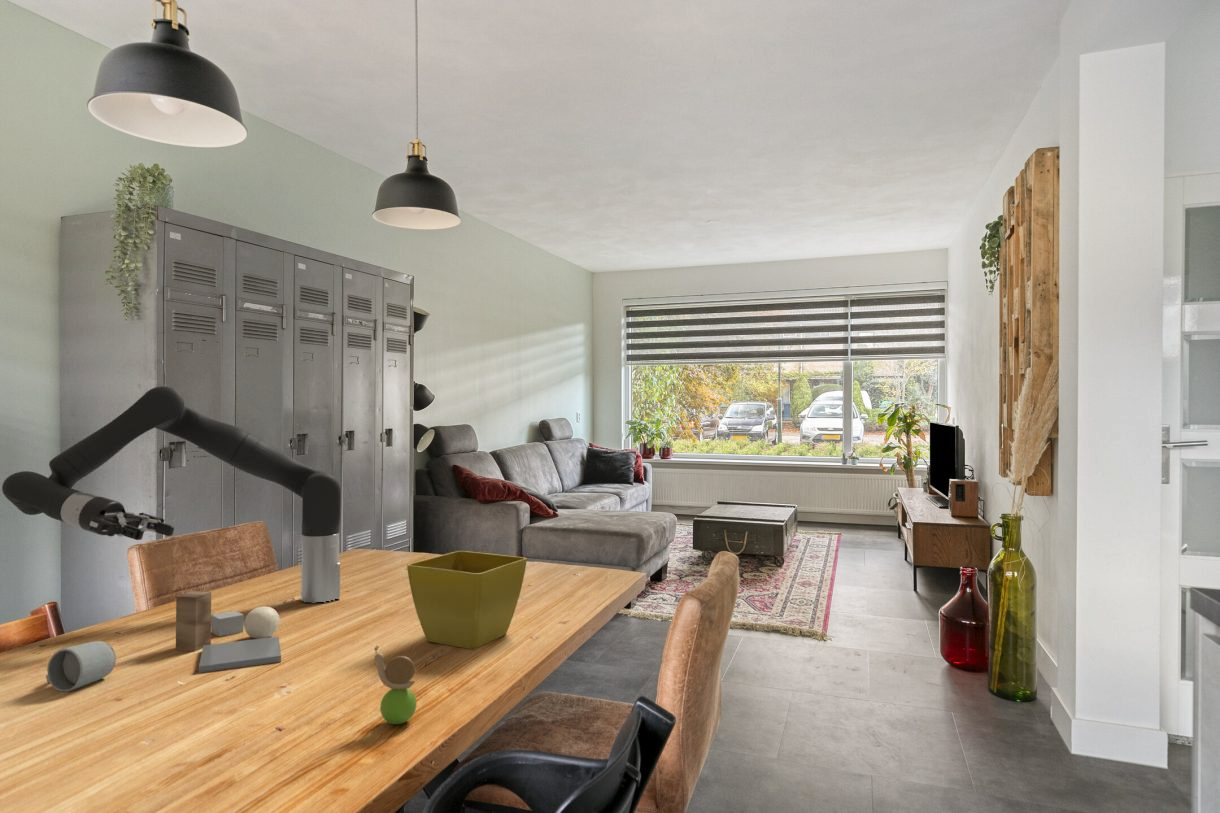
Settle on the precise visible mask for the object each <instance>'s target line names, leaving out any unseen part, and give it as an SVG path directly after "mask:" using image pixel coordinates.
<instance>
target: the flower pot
mask: <svg viewBox="0 0 1220 813" xmlns="http://www.w3.org/2000/svg"><path fill="white" fill-rule="evenodd" d="M406 567H407V574H408V576H407V577H408V581H409V582H408V583H409V586H410V592H411V596H412V601H413V604H414V608H415V610H416V611H415V612H416V614H417V618H418V620H419V623H420V626H421V628H422V631H423V632H422V633H423V634H424V636H425V639H426V641H427V642H431V643H437V644H440V645H448V646H453V647H456V648H457V647H459V648H462V649H463V648H464V649H469V650H476V649H479V648H481V647H482V646H485V645H486V644H489V643H491V642H493V641H494V640H497V639H499V638H501V637H502V636H505V635H506V634H507V633H508V630H509V628H510V627H511V626H510V625H511V622H512V619H513V618H514V614H515V611H516V609H517V605H518V602H519V599H520V595H521V590H522V587H523V584H524V583H523V582H524V578H525V574H526V568H527V557H523V556H515V555H514V556H513V555H507V554H505V555H504V554H495V553H487V552H477V551H468V550H456V551H453V552H448V553H444V554H441V555H438V556H434V557H430V558H426V559H422V560H418V561H415V562H411V563H408V564H407V565H406Z"/></svg>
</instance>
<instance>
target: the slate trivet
mask: <svg viewBox="0 0 1220 813" xmlns="http://www.w3.org/2000/svg"><path fill="white" fill-rule="evenodd" d="M280 644H281V642H280V637H279V636H270V637H267V638H261V639H255V638H253V639H247V640H239V641H228V642H221V643H211V645H203V648H202V649H201V650H202V651H201V655H200V660H199V664H198V673H199V674H201V673H208V672H216V671H223V670H230V669H238V668H246V667H252V666H253V667H254V666H260V665H268V664H274V663H281V662H282V652H281V646H280Z"/></svg>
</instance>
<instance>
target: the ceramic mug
mask: <svg viewBox="0 0 1220 813" xmlns="http://www.w3.org/2000/svg"><path fill="white" fill-rule="evenodd" d="M116 659H117V658H116V653H115V650H114V648H113V646H112V645H111V644H109V643H108V642H106V641H101V640H100V641H89V642H85V643H81V644H78V645H73V646H70V647H65V648H64V647H63V648H61V649H59V650H57V651H55V652H54V653H53V655H52V656H51V657H50V659H49V661H48V665H47V672H46V673H47V674H46V676H45V679H46V682H47V684H50V685H51V686H52V687H53V688H54V690H57V691H59V692H62V691H65V692H64V693H66V692H71V691H74V690H76V689H79V688H82V687H84V686H85V687H86V686H87V685H89V684H91V683H93V682H94V683H95V682H97V681H99V680H102V679H103V678H105V677H107V676H109V675H110V674H111V673H112V671H113V670H114V668H115V666H116Z"/></svg>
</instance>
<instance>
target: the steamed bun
mask: <svg viewBox="0 0 1220 813" xmlns="http://www.w3.org/2000/svg"><path fill="white" fill-rule="evenodd" d="M280 619H281V618H280V615H279V613H278V611H276V609H274V608H273V607H271V606H258V607H256V608H254V609H251V611H249V612H248V614H247V615H246V617H245V619H244V620H243V629H244V631H245V633H246V634H247V635H248V636H249V637H250V638H253V639H261V638H269V637H272V636H273V635H274V634H275V633H276V632H277V630H278V628H279V627H280Z"/></svg>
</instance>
